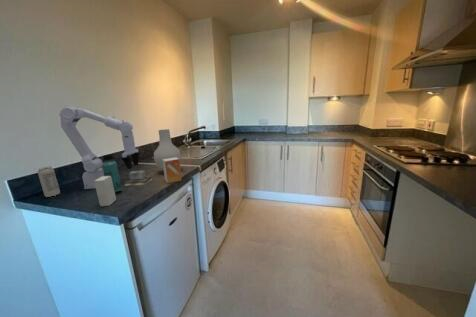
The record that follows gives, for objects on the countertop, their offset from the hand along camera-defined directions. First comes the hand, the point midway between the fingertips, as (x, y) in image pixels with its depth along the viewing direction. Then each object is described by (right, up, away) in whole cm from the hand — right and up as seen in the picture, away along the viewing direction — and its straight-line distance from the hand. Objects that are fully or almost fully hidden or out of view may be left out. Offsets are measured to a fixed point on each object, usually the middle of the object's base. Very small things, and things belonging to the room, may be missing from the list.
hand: (133, 166), depth 117 cm
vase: (+15, -4, +18) cm, 24 cm away
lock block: (+4, -8, -1) cm, 9 cm away
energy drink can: (-34, -15, -14) cm, 39 cm away
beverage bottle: (-1, -13, -15) cm, 20 cm away
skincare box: (+3, -16, -26) cm, 31 cm away
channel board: (+4, -9, -1) cm, 10 cm away
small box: (+24, -8, -1) cm, 25 cm away
